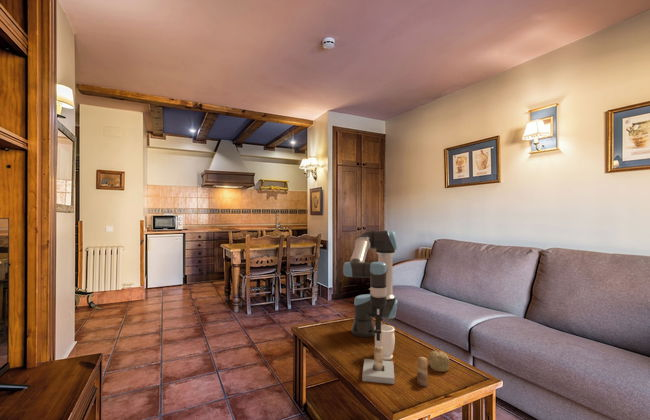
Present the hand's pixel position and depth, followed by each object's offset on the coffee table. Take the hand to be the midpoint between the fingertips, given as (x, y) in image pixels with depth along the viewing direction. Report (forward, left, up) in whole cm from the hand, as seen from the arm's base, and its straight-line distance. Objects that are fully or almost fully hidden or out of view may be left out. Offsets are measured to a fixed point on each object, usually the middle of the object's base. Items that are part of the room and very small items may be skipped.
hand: (378, 340), depth 143 cm
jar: (-18, +3, -15) cm, 23 cm away
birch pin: (0, 0, -15) cm, 15 cm away
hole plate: (0, 0, -15) cm, 15 cm away
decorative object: (-11, +29, -15) cm, 34 cm away
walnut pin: (+6, +19, -15) cm, 25 cm away
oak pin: (-1, +20, -15) cm, 25 cm away
